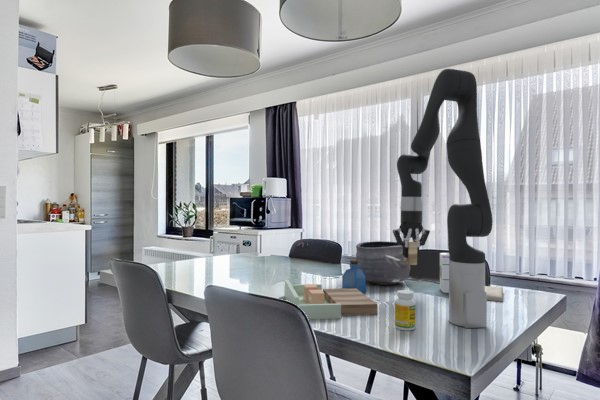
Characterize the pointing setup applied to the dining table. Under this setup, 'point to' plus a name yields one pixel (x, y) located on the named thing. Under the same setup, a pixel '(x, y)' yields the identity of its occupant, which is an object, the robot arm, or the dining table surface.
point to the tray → (311, 310)
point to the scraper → (407, 261)
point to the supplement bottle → (405, 311)
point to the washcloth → (494, 293)
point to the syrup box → (444, 272)
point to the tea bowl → (381, 262)
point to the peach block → (316, 297)
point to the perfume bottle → (354, 277)
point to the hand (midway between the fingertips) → (410, 257)
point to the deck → (351, 301)
